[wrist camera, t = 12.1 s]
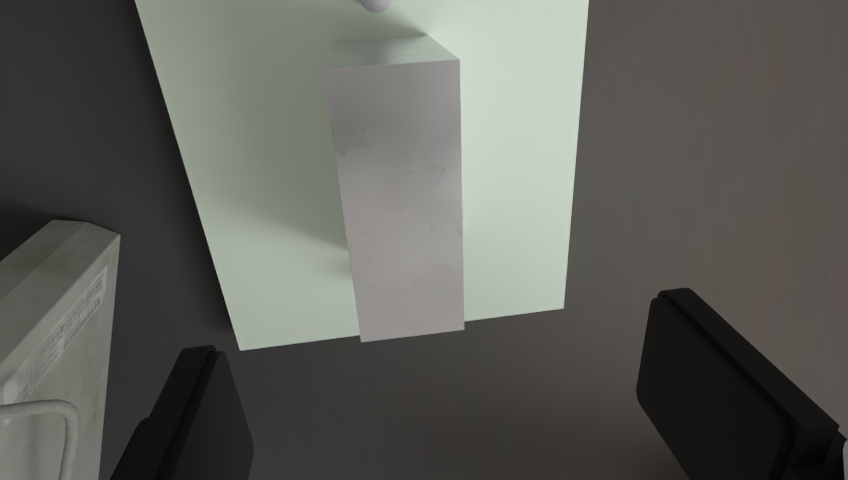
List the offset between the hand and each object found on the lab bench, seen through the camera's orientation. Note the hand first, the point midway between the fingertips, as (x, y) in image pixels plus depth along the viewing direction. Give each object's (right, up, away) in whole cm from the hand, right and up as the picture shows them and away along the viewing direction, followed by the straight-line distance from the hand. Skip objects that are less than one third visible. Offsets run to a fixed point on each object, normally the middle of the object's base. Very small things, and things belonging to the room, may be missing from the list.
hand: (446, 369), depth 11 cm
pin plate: (-2, +7, +13) cm, 16 cm away
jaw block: (-2, +7, +12) cm, 14 cm away
